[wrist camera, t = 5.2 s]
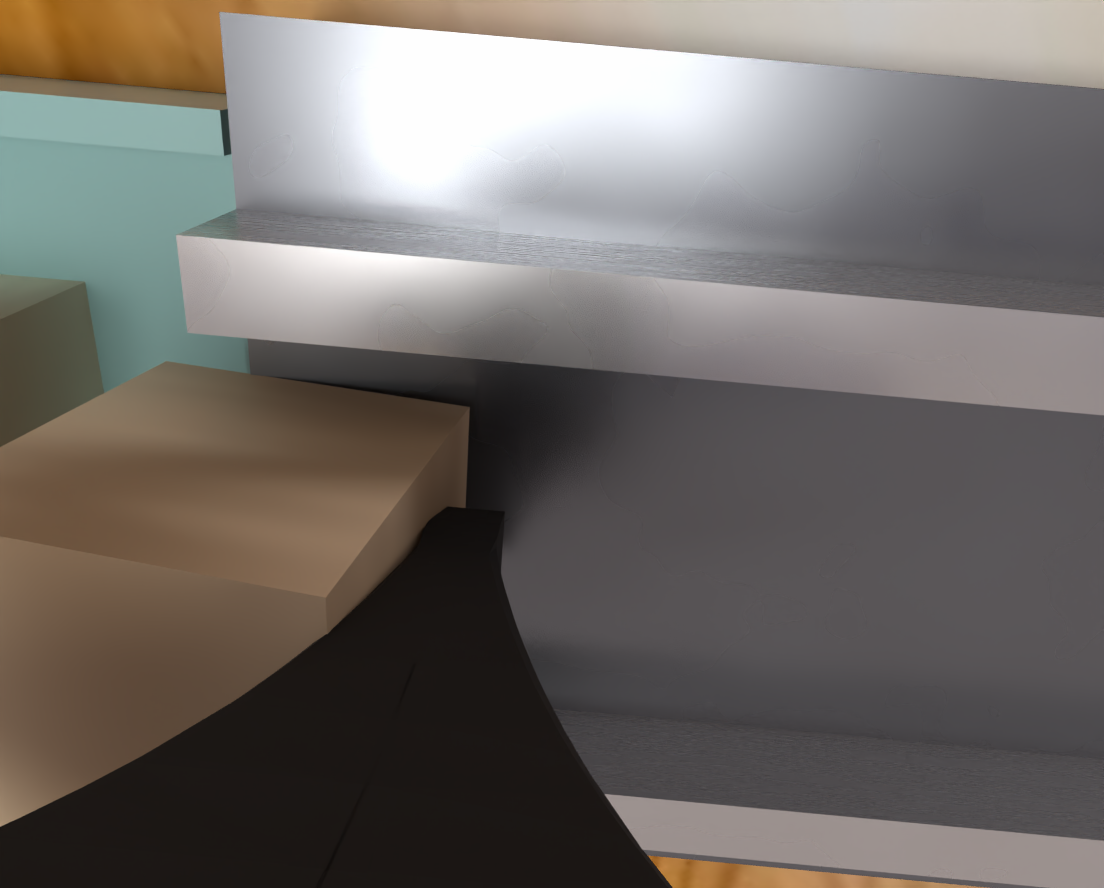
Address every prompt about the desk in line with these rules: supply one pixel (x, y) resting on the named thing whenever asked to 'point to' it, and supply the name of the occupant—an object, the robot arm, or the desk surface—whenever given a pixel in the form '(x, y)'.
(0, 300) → the block
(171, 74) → the desk surface
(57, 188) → the tray
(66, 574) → the block
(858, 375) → the slot board
